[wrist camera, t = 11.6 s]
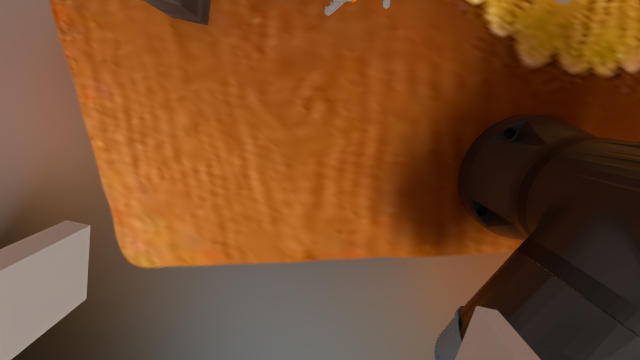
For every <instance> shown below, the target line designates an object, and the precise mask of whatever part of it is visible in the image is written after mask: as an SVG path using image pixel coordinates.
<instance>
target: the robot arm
mask: <svg viewBox="0 0 640 360" xmlns="http://www.w3.org/2000/svg"><path fill="white" fill-rule="evenodd" d="M459 191H460V196H461V199H462V202H463V204H464V206H465V208H466V210H467V211H468V213H469V214H470V215H471V216H472V217H473V218H474V219H475V220H476V221H477V222H478V223H480V224H481V225H483V226H484V227H485V228H487V229H488V230H490V231H492V232H494V233H496V234H498V235H501V236H504V237H508V238H513V239H518V240H523V241H524V242H523V243H522V244H521V245H520V246H519V247H518V248H517V249H516V250H515V251H514V252H513V253H512V255H511V256H510V257H509V258H508V259H507V260H506V261H505V262H504V264H503V265H502V266H501V267H500V268H499V269H498V270H497V271H496V272H495V273H494V274H493V275H492V276H491V277H490V279H489V280H488V281H487V282H486V283H485V284H484V285H483V286H482V287H481V288H480V289H479V290H478V292H476V294H475V295H474V296H473V297H472V298H471V299H470V300H469V301H468V302H467V303H466V304H465V306H460V307H459V308H458V309H457V310H456V312H455V317H454V318H453V319H452V320H451V322H450V323H449V324H448V325H447V326H446V328H445V329H444V330H443V331H442V333H441V334H440V335H439V337H438V338H437V341H436V344H435V350H434V355H435V360H640V142H633V141H624V140H614V139H604V138H596V137H594V136H593V135H591V134H589V133H587V132H586V131H584V130H582V129H580V128H578V127H577V126H575V125H573V124H571V123H569V122H567V121H565V120H563V119H560V118H556V117H552V116H544V115H520V116H515V117H511V118H508V119H505V120H503V121H500V122H498V123H497V124H495V125H493V126H492V127H490V128H489V129H487V130H486V131H485V132H484V133H482V134H481V135H480V136H479V137H478V138H477V139H476V141H475V142H474V143H473V144H472V146H471V147H470V149H469V150H468V152H467V154H466V156H465V158H464V160H463V163H462V166H461V170H460V175H459ZM89 240H90V225H86V224H81V223H76V222H71V221H64V222H62V223H59V224H57V225H55V226H52V227H50V228H48V229H46V230H44V231H41V232H39V233H36V234H34V235H32V236H30V237H27V238H25V239H23V240H20V241H18V242H16V243H14V244H11V245H9V246H7V247H5V248H2V249H0V360H11V359H12V358H14V357H15V356H16V355H17V354H18V353H20V352H21V351H22V350H23V349H24V348H26V347H27V346H28V345H30V344H31V343H32V342H33V341H34V340H36V339H37V338H38V337H39V336H41V335H42V334H43V333H44V332H46V331H47V330H48V329H49V328H51V327H52V326H53V325H54V324H55V323H57V322H58V321H59V320H60V319H62V318H63V317H64V316H66V315H67V314H68V313H69V312H70V311H72V310H73V309H74V308H75V307H77V306H78V305H79V304H80V303H82V302H83V301H84V300H85V299H86V295H87V277H88V259H89ZM521 252H522V253H521ZM531 259H532V260H531ZM534 261H535V262H534ZM537 263H538V264H539V265H540V266H539V265H538V264H537ZM541 266H542V267H541ZM544 268H545V269H546V270H545V269H544ZM547 270H548V271H549V272H548V271H547ZM551 273H552V274H553V275H552V274H551ZM555 276H556V277H555ZM558 278H559V279H560V280H559V279H558ZM562 281H563V282H562ZM565 283H566V284H567V285H566V284H565ZM569 286H570V287H569ZM573 289H574V290H573ZM576 291H577V292H576ZM580 294H581V295H580ZM583 296H584V297H583ZM587 299H588V300H587ZM590 301H591V302H590ZM594 304H595V305H594ZM601 309H602V310H601ZM608 314H609V315H608ZM612 317H613V318H612ZM619 322H620V323H619ZM626 327H627V328H626Z"/></svg>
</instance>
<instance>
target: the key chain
mask: <svg viewBox="0 0 640 360" xmlns="http://www.w3.org/2000/svg"><path fill="white" fill-rule="evenodd" d="M333 1H334V2H333V3H332V2H330V4H331V5H329V6H328V7H327V6H326V7H325V8H326V9H325V10H324V11H325V14H326V15H328V16H329V15H330V14H332V13H333V12H334V11H335V10H336V9H337V8H339V7H340V6H341V5H342V4H343V3H344V2H346V1H351V2H354V1H356V0H333ZM389 6H390V0H383V8H386V9H387V8H389Z"/></svg>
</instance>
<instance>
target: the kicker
mask: <svg viewBox="0 0 640 360" xmlns="http://www.w3.org/2000/svg"><path fill="white" fill-rule="evenodd" d="M144 1H145V2H147V3H149V4H150V5H152V6H154V7H155V8H157V9H159V10H160V11H162V12H163V13H165V14H167V15H168V16H170V17H173V18H178V19H182V20H186V21H191V22H195V23H200V24H204V25H208V19H209V9H210V0H144Z"/></svg>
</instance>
